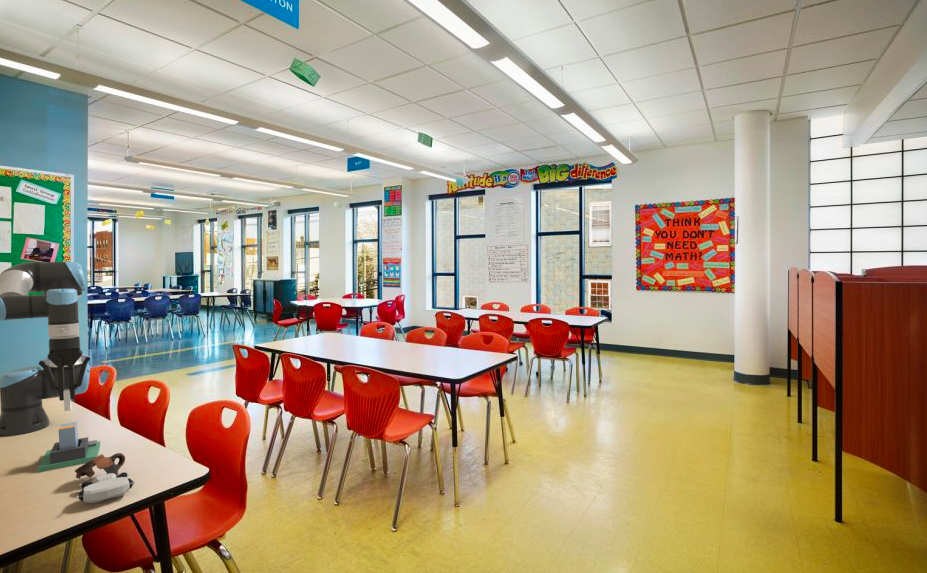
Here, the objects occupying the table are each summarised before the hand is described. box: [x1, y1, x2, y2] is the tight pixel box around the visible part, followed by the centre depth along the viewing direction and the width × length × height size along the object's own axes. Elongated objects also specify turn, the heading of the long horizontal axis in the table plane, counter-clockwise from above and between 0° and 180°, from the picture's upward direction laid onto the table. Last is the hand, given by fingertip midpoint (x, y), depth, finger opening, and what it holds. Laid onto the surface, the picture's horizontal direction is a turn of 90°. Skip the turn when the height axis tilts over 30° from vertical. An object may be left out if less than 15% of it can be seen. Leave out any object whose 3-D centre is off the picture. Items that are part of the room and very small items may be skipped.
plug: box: [58, 421, 79, 450], centre depth 150 cm, size 6×4×10 cm, turn 34°
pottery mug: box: [74, 452, 126, 480], centre depth 137 cm, size 12×10×8 cm
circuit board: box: [37, 436, 101, 473], centre depth 152 cm, size 16×14×5 cm
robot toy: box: [76, 471, 136, 504], centre depth 128 cm, size 12×4×15 cm
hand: (68, 409), depth 150 cm, fingers closed
